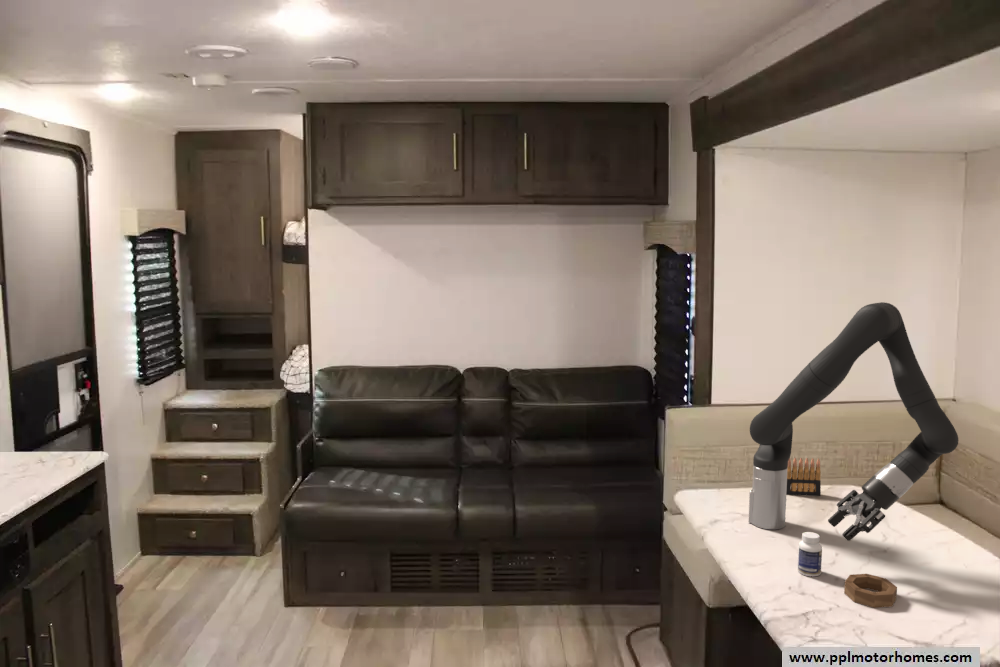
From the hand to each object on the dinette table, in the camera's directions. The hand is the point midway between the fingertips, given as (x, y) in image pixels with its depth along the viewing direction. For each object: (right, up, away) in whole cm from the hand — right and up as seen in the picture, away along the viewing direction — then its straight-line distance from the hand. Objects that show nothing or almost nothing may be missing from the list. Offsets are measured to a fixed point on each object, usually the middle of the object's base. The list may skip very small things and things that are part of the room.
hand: (837, 531), depth 189 cm
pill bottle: (-6, -11, +2) cm, 13 cm away
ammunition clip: (+13, -3, +55) cm, 57 cm away
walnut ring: (+3, -12, -11) cm, 17 cm away
